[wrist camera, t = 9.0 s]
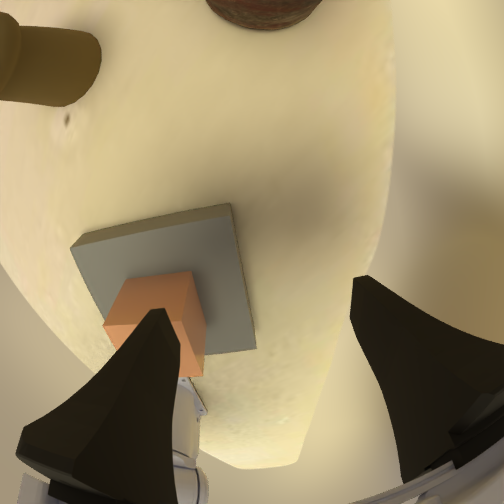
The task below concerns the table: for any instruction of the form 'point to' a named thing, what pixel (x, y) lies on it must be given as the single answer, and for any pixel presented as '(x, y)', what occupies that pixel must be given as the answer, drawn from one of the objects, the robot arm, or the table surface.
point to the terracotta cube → (177, 307)
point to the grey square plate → (176, 267)
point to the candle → (264, 12)
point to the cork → (45, 63)
